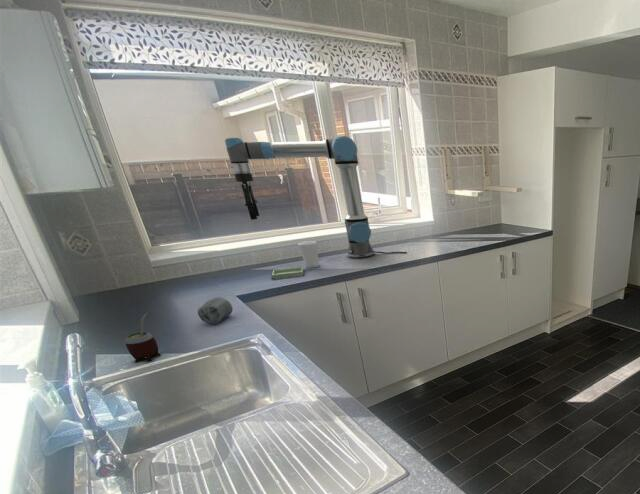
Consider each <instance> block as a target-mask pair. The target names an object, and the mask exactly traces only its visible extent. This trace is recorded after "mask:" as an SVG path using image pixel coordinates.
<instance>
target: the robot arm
mask: <svg viewBox="0 0 640 494" xmlns="http://www.w3.org/2000/svg"><path fill="white" fill-rule="evenodd" d="M224 143H225V147H226V152H227V154H228V157H229V161H230V164H231V165H230V168H231V169H232V171H233V173H234V178H235V181H236V182H237V183H242V184H241V189H242V192H243V196H244V197H243V198H244V200H245V203H244V205H245V207H247V211H248V213H249V217H250V220H251V221H252V220H258V217H260V212H259V209H258V205H257V203H258V200H256V198H255V195H254V192H253V187H252V185H251V182H253V181H254V177H253V173H252V169H251V166H250V162H249V160H269V159H270V160H271V159H297V158H327V159H328V160H332V159H333V160H334V164H335V165H334V166H336V167H338V169H339V175H340V180H341V185H342V190H343V195H344V201H345V206H346V210H347V212H346V213H347V215H346V217H344V225H345V230H346V235H347V240H348V249H347V258H350V259H364V258H370V257H372V256H374V255H375V253H377V254H385V255H391V254H407V251H390V252H385V251H375V250H374V249H373V247H372V245H371V243H370V238H371V236H372V230H371V227H370V224H369V218H368V216H367V215H366V214H365V212H364V205H363V200H362V194H361V188H360V182H359V176H358V171H357V167H358V165H359V159H358V146H357V144H356V143H355V141H354V140H353V139H352V138H351V137H349V136H347V135H338V136H336V137H334V138H325V139H323V140H321V141H320V140H319V141H317V140H316V141H280V142H279V141H275V142H274V141H273V142H271V141H244V140H243V138H241V137H226V138H225V139H224Z"/></svg>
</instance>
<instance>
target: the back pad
mask: <svg viewBox="0 0 640 494" xmlns="http://www.w3.org/2000/svg"><path fill="white" fill-rule="evenodd" d="M302 276H304V268H303V266H297V267H289V268H279V269H273V270H272V273H271V277H272V280H278V279H279V280H280V279H288V278H296V277H302Z"/></svg>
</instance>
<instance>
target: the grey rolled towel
mask: <svg viewBox="0 0 640 494" xmlns="http://www.w3.org/2000/svg"><path fill="white" fill-rule="evenodd" d="M233 311H234V310H233V305H232V303H231V302H230V301H229V300H228V299H226V298H224V297H221V296H220V297H213V298H211V299H209V300H207V301H206V302H204V303H203V304H202V305H201V306H200V307H198V309H197V315H198V317H199V319H200V320H201V321H202V322H204V323H206V324H208V325H214V326H215V325H218V324H219V323H221V321H223V320H224V319H225V318H227V317H229V316H230V315H231V314H232V313H233Z"/></svg>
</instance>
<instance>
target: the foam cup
mask: <svg viewBox="0 0 640 494" xmlns="http://www.w3.org/2000/svg"><path fill="white" fill-rule="evenodd" d="M297 246H298V249H299V252H300V255H301V256H302V259H303V262H304V264H305V267H306V268H307V269H314V268H318V267H319V254H318V244H317V241H313V240H312V241H311V240H310V241H309V240H308V241H302V242H298V243H297Z"/></svg>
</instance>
